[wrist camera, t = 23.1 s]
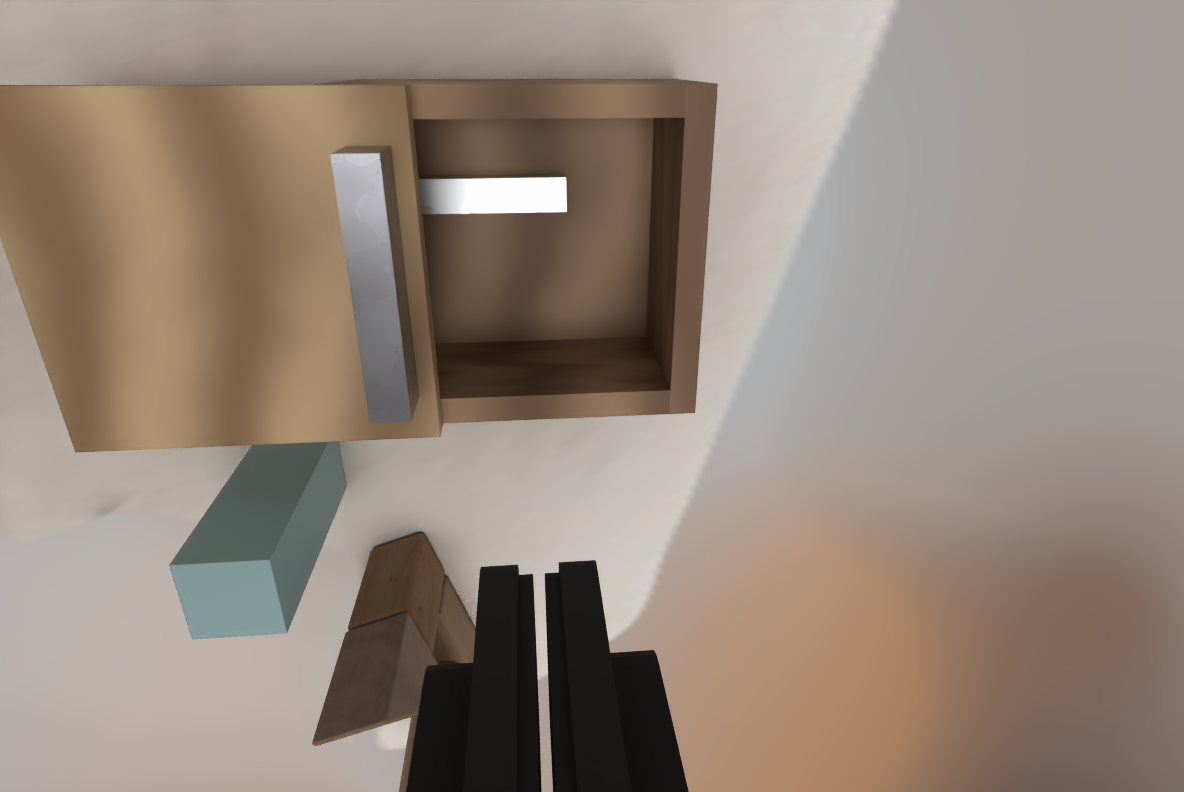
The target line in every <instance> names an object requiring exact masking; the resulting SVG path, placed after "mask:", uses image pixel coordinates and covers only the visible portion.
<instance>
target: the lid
mask: <svg viewBox="0 0 1184 792" xmlns="http://www.w3.org/2000/svg"><path fill="white" fill-rule="evenodd" d="M0 238H1V241H2V244H3V246H4V249H5V252H6V255H7V258H8V261H9V264H10V266H11V269H12V272H13V275H14V278H15V281H16V284H17V286H18V289H19V292H20V295H21V298H22V301H23V304H24V306H25V309H26V312H27V315H28V318H29V321H30V324H31V326H32V329H33V332H34V335H35V338H36V341H37V344H38V346H39V349H40V352H41V355H42V358H43V361H44V364H45V366H46V369H47V372H48V375H49V378H50V381H51V384H52V386H53V389H54V392H55V395H56V398H57V401H58V404H59V406H60V409H61V412H62V415H63V418H64V421H65V424H66V426H67V429H68V432H69V435H70V438H71V441H72V444H73V446H74V449H75V452H95V451H119V450H142V449H166V448H189V447H213V446H236V445H260V444H283V443H307V442H330V441H354V440H377V439H401V438H424V437H440V436H441V431H442V426H443V419H442V409H441V399H440V389H439V379H438V369H437V358H436V348H435V338H434V328H433V318H432V308H431V298H430V287H429V277H428V267H427V257H426V247H425V237H424V227H423V216H422V206H421V196H420V186H419V176H418V166H417V156H416V145H415V135H414V125H413V115H412V105H411V95H410V85H0Z"/></svg>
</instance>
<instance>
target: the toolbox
mask: <svg viewBox="0 0 1184 792" xmlns="http://www.w3.org/2000/svg"><path fill="white" fill-rule="evenodd" d="M314 85H410V95H411V105H412V115H413V125H414V135H415V145H416V156H417V166H418V176H419V186H420V196H421V206H422V216H423V227H424V237H425V247H426V257H427V267H428V277H429V287H430V298H431V308H432V318H433V328H434V338H435V348H436V358H437V369H438V379H439V389H440V399H441V409H442V419H443V423H459V422H484V421H508V420H533V419H557V418H582V417H606V416H630V415H655V414H679V413H695V406H696V391H697V377H698V362H699V348H700V333H701V319H702V304H703V289H704V275H705V260H706V246H707V231H708V217H709V202H710V188H711V173H712V159H713V144H714V130H715V115H716V101H717V86H718V84H715V83H706V82H697V81H688V80H679V79H407V80H349V81H341V82H332V83H323V84H314Z"/></svg>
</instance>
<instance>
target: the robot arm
mask: <svg viewBox="0 0 1184 792" xmlns="http://www.w3.org/2000/svg"><path fill="white" fill-rule="evenodd" d="M545 593H546V623H547V652H548V679H549V710H550V732H551V753H552V754H551V755H552V777H553V792H688V787H687V783H686V779H685V775H684V770H683V766H682V761H681V757H680V753H679V748H678V744H677V740H676V735H675V731H674V727H673V723H672V718H671V714H670V710H669V705H668V701H667V697H666V692H665V688H664V684H663V679H662V676H661V671H660V666H659V663H658V659H657V656H656V653H655V651H654V650H649V651H633V652H619V653H610V649H609V642H608V636H607V629H606V623H605V616H604V610H603V603H602V597H601V590H600V584H599V577H598V571H597V565H596V561H595V560H592V561H575V562H559V573H545ZM538 704H539V703H538V679H537V656H536V632H535V609H534V586H533V574H526V575H519V569H518V565H506V566H489V567H481V569H480V578H479V591H478V604H477V617H476V630H475V643H474V656H473V663H459V664H444V665H430V666H427V668H426V670H425V674H424V679H423V685H422V692H421V698H420V705H419V711H418V718H417V724H416V731H415V737H414V744H413V750H412V756H411V763H410V769H409V776H408V782H407V789H406V792H541V762H540V731H539V705H538Z"/></svg>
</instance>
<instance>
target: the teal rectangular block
mask: <svg viewBox="0 0 1184 792" xmlns="http://www.w3.org/2000/svg"><path fill="white" fill-rule="evenodd" d="M345 489H346V482H345V476H344V470H343V464H342V458H341V453H340V447H339V441H330V442H307V443H283V444H260V445H252V447H251V448H250V450H249V451H248V452H247V454H246V455H245V457H244V458H243V460H242V461H241V463H240V464H239V465H238V467H237V468H236V470H235V471H234V473H233V474H232V475H231V477H230V478H229V480H228V481H227V483H226V484H225V486H224V487H223V488H222V490H221V491H220V493H219V494H218V496H217V497H216V499H215V500H214V501H213V503H212V504H211V506H210V507H209V509H208V510H207V512H206V513H205V514H204V516H203V517H202V519H201V520H200V522H199V523H198V524H197V526H196V527H195V529H194V530H193V532H192V533H191V535H190V536H189V538H188V539H187V541H186V542H185V543H184V545H183V546H182V548H181V549H180V551H179V552H178V553H177V555H176V556H175V558H174V559H173V561H172V562H171V563H170V565H169V566H170V570H171V573H172V576H173V579H174V583H175V586H176V589H177V592H178V596H179V599H180V602H181V605H182V609H183V612H184V615H185V618H186V621H187V624H188V628H189V631H190V634H191V637H192V639H207V638H221V637H238V636H253V635H269V634H283V633H287V632H288V629H289V627H290V625H291V622H292V620H293V617H294V615H295V612H296V610H297V607H298V605H299V602H300V600H301V597H302V595H303V592H304V590H305V588H306V585H307V582H308V580H309V578H310V575H311V573H312V570H313V568H314V565H315V563H316V560H317V558H318V556H319V553H320V551H321V548H322V546H323V543H324V541H325V538H326V536H327V533H328V531H329V528H330V526H331V523H332V521H333V519H334V516H335V514H336V511H337V509H338V506H339V504H340V501H341V499H342V496H343V494H344V491H345Z"/></svg>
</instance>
